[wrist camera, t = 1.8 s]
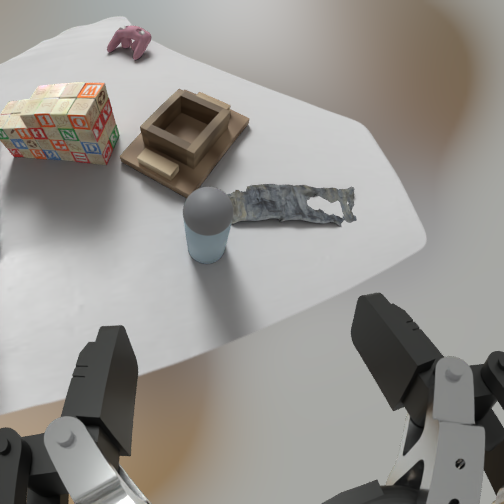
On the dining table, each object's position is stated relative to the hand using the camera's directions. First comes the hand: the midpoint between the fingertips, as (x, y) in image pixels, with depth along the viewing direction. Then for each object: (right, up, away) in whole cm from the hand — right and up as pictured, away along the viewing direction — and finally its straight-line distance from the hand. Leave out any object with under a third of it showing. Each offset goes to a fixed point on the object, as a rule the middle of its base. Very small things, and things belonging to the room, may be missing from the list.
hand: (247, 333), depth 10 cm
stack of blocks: (-32, +21, +31) cm, 49 cm away
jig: (-10, +20, +34) cm, 41 cm away
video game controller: (-26, +46, +40) cm, 66 cm away
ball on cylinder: (-6, +4, +30) cm, 31 cm away
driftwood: (+6, +9, +34) cm, 36 cm away
